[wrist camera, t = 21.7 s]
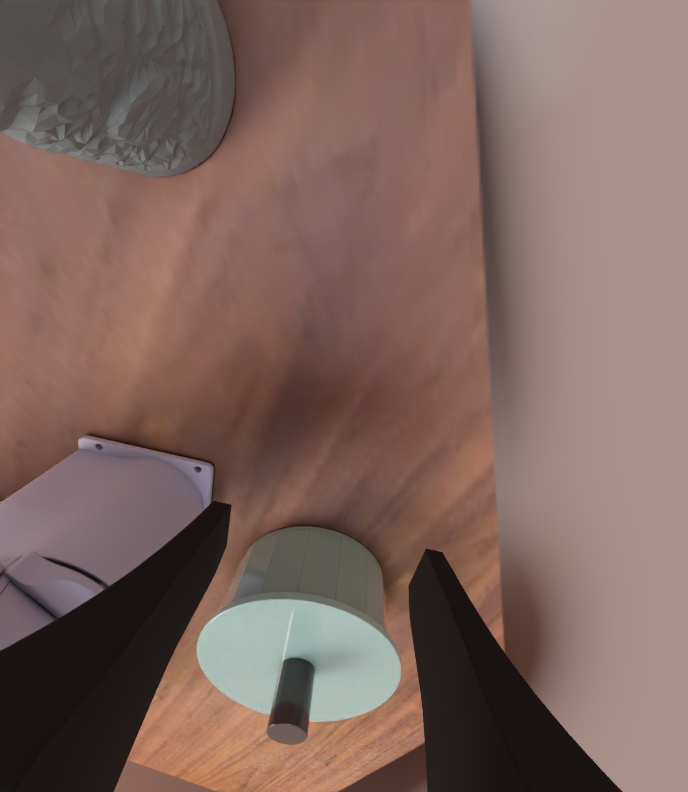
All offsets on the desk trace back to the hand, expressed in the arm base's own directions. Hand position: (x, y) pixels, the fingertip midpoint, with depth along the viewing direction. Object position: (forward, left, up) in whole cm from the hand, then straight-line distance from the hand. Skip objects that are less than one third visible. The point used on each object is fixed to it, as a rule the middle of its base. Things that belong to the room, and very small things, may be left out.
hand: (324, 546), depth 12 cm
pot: (+1, -16, -10) cm, 19 cm away
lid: (+1, -16, -4) cm, 17 cm away
